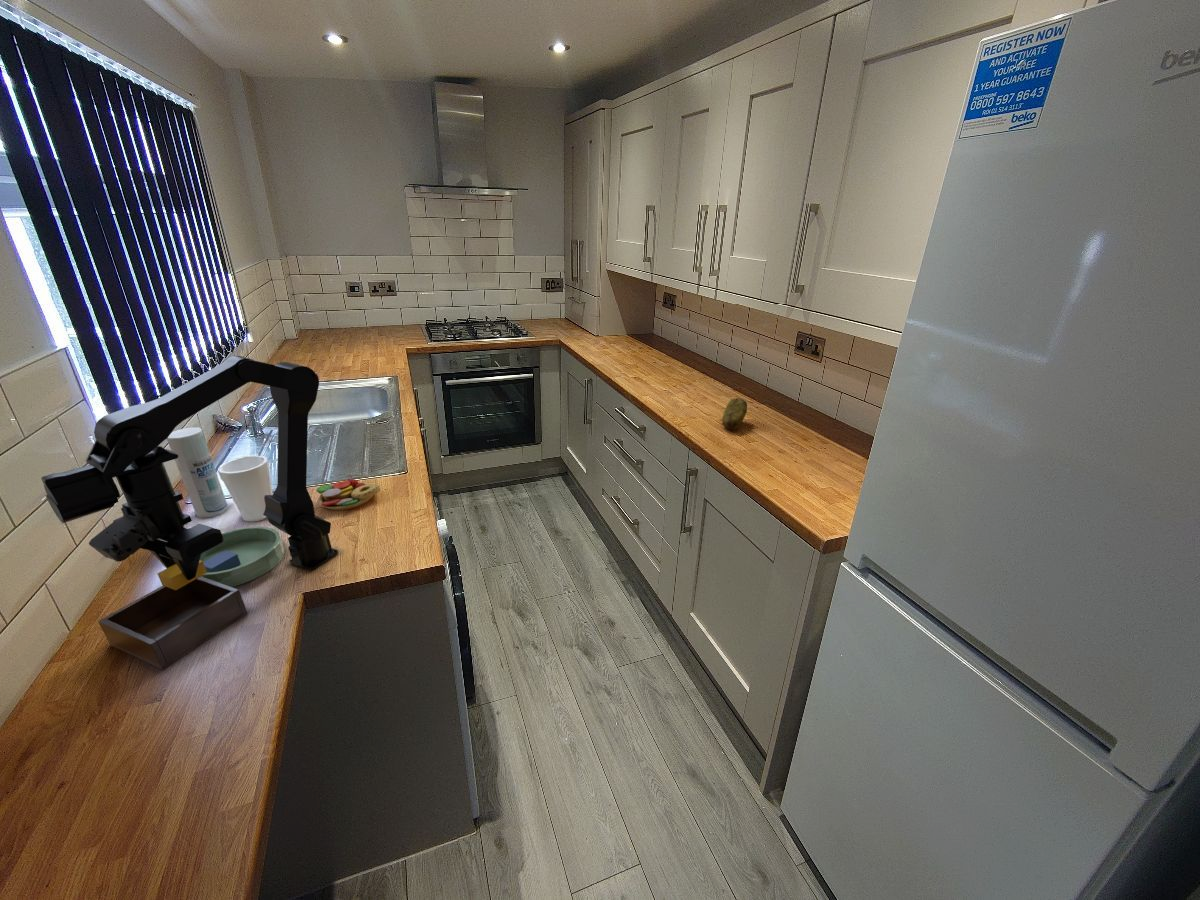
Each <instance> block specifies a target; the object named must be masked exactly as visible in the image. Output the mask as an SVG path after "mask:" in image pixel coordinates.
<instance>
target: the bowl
mask: <svg viewBox="0 0 1200 900" xmlns="http://www.w3.org/2000/svg"><path fill="white" fill-rule="evenodd" d="M221 533H222V536H223V539H224V540H223V542H222V543H220V544H218V545H217V546H215V547H213V548H211V549H209V550H207V551H205V552H203V553H201V557H200V561H203V562H205V561H206V560H208V559H210V558H212V557H214V556H216V555H217V554H219V553H221V552H223V551H225V550H226V551H229V552H232V553H235V554H237V555H238V558H239V560H240V563H241V564H240V565H239V566H237V567H235V568H232V569H228V570H224V571H219V572H209V573H206V574H204V575H202V577H204V578H207V579H210V580H213V581H216V582H219V583H222V584H224V585H227V586H230V587H233V588H234V587H237V586H240V585H242V584H246V583H248V582H249V583H250V582H251V581H253V580H256V579H258V578H260V577H261V576H263V575H265V574H266V573H268V572H269V571H271V570H272V569H274V568H275V567H276V566H277V565H278V564H279V563H280V562H281V561H282V559H283V558H284V555H285V548H284V543H283V540H282V537H281V535H280V532H279V531H278V530H276V529H275V528H272V527H268V526H247V527H241V528H234V529H231V530H228V531H224V532H221Z"/></svg>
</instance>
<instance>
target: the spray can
mask: <svg viewBox="0 0 1200 900" xmlns="http://www.w3.org/2000/svg"><path fill="white" fill-rule="evenodd" d="M166 441H167V444H168V445H169V450H170V451H172V452H174V453H176V454H178V458H177V459H174V462H175V464H176V466H177V469H178V471H179V474H180V477H181V480H182V482H183V484H184V487H185V490H186V492H187V494H188V495H187V496H188V497H189V500H190V503H191V505H192V507H193V509H194V513H195V515H196V516H197V517H198V518H203V519H207V518H211V517H216V516H219V515H220V514H222V513H225V512H226V511H227V510H228V503H227V500H226V496H225V493H224V491H223V488H222V484H221V482H220V479H219V476H218V472H217V471H216V467H215V465H214V461H213V458H212V455H211V452H210V449H209V446H208V444H207V440H206V438H205V434H204V432H203V429H202V428H200V427H185V428H180V429H177V430H173V431H172V433H171V434H170V435H169V437H168V438H167V439H166Z"/></svg>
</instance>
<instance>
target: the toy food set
mask: <svg viewBox="0 0 1200 900" xmlns="http://www.w3.org/2000/svg"><path fill="white" fill-rule="evenodd" d="M380 491H381V487H380V485H379V484H378V483H376V482H371V483H369V482H360V481H358V480H357V479H355V478H349V479H346V480H341V481H337V482H335V483H333V484H324V485H320V486H318V487H317V488H316V492H317V493H318V494H319V496H318V501H317V502H318V504H319V505H320V506H321V507H323V508H325V509H328V510H334V511H341V510H342V511H343V510H350V509H353V508H356V507H359V506H362V505H364V504H366V503H367V502H369V501H370V500H371V499H372V498H373V496H375V495H377V494H378V493H379V492H380Z"/></svg>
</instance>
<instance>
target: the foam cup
mask: <svg viewBox="0 0 1200 900" xmlns="http://www.w3.org/2000/svg"><path fill="white" fill-rule="evenodd" d="M217 473H218V475H219V478H220V480H221V482H223V484H224V486H225V487H226V489H227V491H228V493H229V495H230V497H231V498H232V500H233V503H234V504H235V506H236V508H237V510H238V512H239V513H240V516H241V517H242V519H243V520H244V521H245V522H258V521H262V520H265V519H268V518H267V517H266V516H264V515H263V514H264V511H265V507H266V506H265V500H264V497H265V495H273V493H274V492H273V486H272V485H273V484H272V478H271V466H270V463H269V459H268V458H267V457H266V456H265V455H259V454H256V455H255V454H254V455H245V456H240V457H236V458H234V459H231V460H228V461H225V462H224V463H222V464H221V465H219V466H218V469H217Z"/></svg>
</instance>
